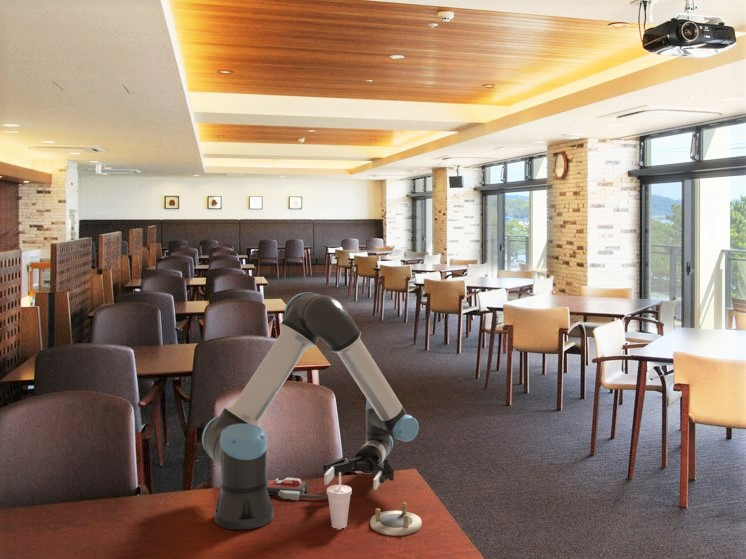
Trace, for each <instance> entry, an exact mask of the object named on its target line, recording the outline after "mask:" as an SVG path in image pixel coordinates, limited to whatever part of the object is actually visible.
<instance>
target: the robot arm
mask: <svg viewBox="0 0 746 559" xmlns="http://www.w3.org/2000/svg"><path fill="white" fill-rule="evenodd" d="M279 327H280V334H279V335H278V337H277V339H276V340H275V341H274V343H273V344H272V346H271V348H270V349H269V350H268V351H267V353H266V354H265V356H264V358H263V360H262V361H261V363H260V364H259V365H258V367H257V368H256V370H255V372H254V373H253V374H252V376H251V377H250V379H249V381H248V382H247V383H246V385H245V386H244V388H243V389H242V392H240V394H239V395H238V397H237V398H236V401H234V403H233V404H232V405H228V406H227V405H226V406H225V407H224V409H223V410H222V411H221V413H220V414H219V416H216V417H214V418H212V419H211V420H210V421H208V423H207V424H206V425H205V427H204V429H203V432H202V435H201V441H202V442H201V443H202V447H203V449H204V450H205V454H206V455H208V457H209V458H210V459H211V460H213V461H214V462H215V463H216V464H217V465H218V466H219V467H220V493H219V496H218V500H217V502H216V507H215V509H214V523H215V524H216V525H217V526H218V527H221V528H223V529H225V530H226V529H228V530H233V531H234V530H237V531H239V530H240V531H241V530H242V531H243V530H244V531H245V530H252V529H257V528H261V527H263V526H266V525H268V524H269V523H270V522H272V521H273V519H274V518H275V517H274V516H275V512H274V511H275V510H274V505H273V503H272V501H271V500H272V499H271V496H269V493H268V490H267V480H268V477H267V475H268V474H267V473H268V471H267V468H268V465H267V464H268V463H267V462H268V460H267V455H268V454H267V453H268V452H267V449H268V441H267V436H266V432H265V430H264V429H263V428H261V422H260V421H261V419H262V418H263V417H264V415H265V414H266V412H267V410H268V408H270V405H271V404H272V402H273V401H274V399H275V398H276V396H277V395H278V394H279V392H280V390H281V389H282V387H283V386H284V384H285V383H286V381H287V379H288V378H289V377H290V375H291V374H292V371H294V369H295V367H296V366H297V364H298V363H299V361H300V359H301V358H302V356H303V354H305V352H306V350H307V349H310V348H311V349H312V348H315V346H316V345H317V343H318V341H319V340H321V341H323V343H325V344H326V346H328V349H329V350H330V351H331V352H332V353H335V354H337V356H338V357H339V358H340V360H341V361H342V363H343V365H344V366H345V367H346V369H347V370H348V372H349V374H350V376H351V377H352V378H353V380H354V382H355V383H356V385H357V386H358V387H359V389H360V391H361V392H362V394H363V395H364V396H365V399H366V403H365V443H364V444H363V445H362V446H361V448H359V449H358V451H357V452H356V454H355V456H354V457H353V458H351V459H348V458H347V456H342V457H340V458H339V459H336V460H332V461H329V462H327V463H324V464H322V474H323V475H324V476H323V478H324V479H323V481H324V482H323V484H324V486H327V485H328V484H330V482H331V481H332V480H333V479H334V477H335V476H336V475H339V473H340V472H341V474H343V473H349V472H350V473H355V472H361V473H364V474H371V475H375V477H374V478H373V490H378V488H379V486H380V485H381V484H384V483H385V482H386V481H387V480H389V481H393V482H394V481H395V470H394V469H393V468H392V466H391V465H390V463H389V462H390V461H389V460H388V459H386V458H387V457H388V456H389V455H390V454H391V452H392V450H393V447H394V440H393V438H394V439H395V440H396V441H402V442H403V443H404V442H405V443H408V442H411V441H413V440H414V439H415V438H416V437H417V436H418V433H419V429H420V425H419V422H418V420H417V419H416V418H415V417H413V416H412V415H411V414H409V413H407V411H406V409H405V408H404V406H403V404H402V403H401V401H400V400H399V399H398V397H397V395H396V394H395V392H394V390H393V389H392V387H391V386H390V384H389V383H388V381H387V380H386V377H385V376H384V375H383V373H382V371H381V370H380V368H379V367H378V365H377V363H376V361H375V360H374V358H373V357H372V355H371V353H370V352H369V350H368V349H367V347H366V345H365V344H364V343H363V341H362V339H361V335H362V332H361V330H360V329H359V327H358V325H357V324H356V322H355V321H354V319H353V318H352V316H351V315H350V314H349V312H348V310H347V309H346V308H345V306H344V305H343V304H342V303H341V302H340V301H338V300H337V299H336V298H334V297H332V296H329V295H322V294H318V293H316V292H308V291H307V292H301V293H298V294H296V295H294V296H293V297H292V298H290V300H288V302H287V303H286V306H285V309H284V318H283V320H282V321H281V322H280V323H279Z"/></svg>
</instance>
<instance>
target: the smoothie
mask: <svg viewBox="0 0 746 559" xmlns="http://www.w3.org/2000/svg"><path fill="white" fill-rule="evenodd" d="M352 492H353V491H352V487H351V486H349V485H344V484H342V473H341V472H340V473H339V474H338V484H333V485H330V486H328V487H327V488H326V496H327V499H328V504H329V505H328V506H329V513H330V521H331V528H332V527H333V528H332V529H334V528H337V529H336V530H343V529H342V528H344V529H346V528H347V526H348V518H349V508H350V501H351V495H352ZM345 527H346V528H345Z"/></svg>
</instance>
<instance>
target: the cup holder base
mask: <svg viewBox="0 0 746 559" xmlns="http://www.w3.org/2000/svg"><path fill="white" fill-rule="evenodd" d="M407 506H408V504H407V502H401V510H386V511H382V512H381V508H377V507H376V508H375V514H374V515H372V517H371V518H370V524H369V525H370V528H371V529H372V530H373V531H375V532H376V533H380V534H381V535H386V536H394V537H395V536H398V537H399V536H407V535H411V534H414V533H416V532H418V531H420V530H421V528H422V527H423V526H422V524H423V523H422V522H423V521H422V518H421V517H420V516H418V514H416V513H413V512H408V511H407Z"/></svg>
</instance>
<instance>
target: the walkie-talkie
mask: <svg viewBox="0 0 746 559" xmlns="http://www.w3.org/2000/svg"><path fill="white" fill-rule="evenodd" d="M267 490H268V493H269V495H274V496H273V497H279V496H280V497H282V498H284V499H283V500H285V499H291V500H290V501H299V500H300V499H315V500H317V499H328V495H327V494H325V495H324V494H306V493H308V492H309V484H308V483H307V481H304V480H303V481H302V479H301V478H299V477H285V478H284V479H280V480H279V478H278V477H277V478H275V479H267ZM304 492H305V493H304ZM280 497H279V498H280ZM282 498H281V499H282ZM299 498H300V499H299Z"/></svg>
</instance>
